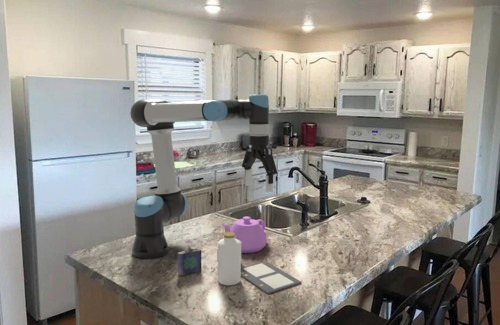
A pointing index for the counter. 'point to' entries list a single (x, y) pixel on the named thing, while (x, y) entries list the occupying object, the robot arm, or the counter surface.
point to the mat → (268, 277)
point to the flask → (189, 261)
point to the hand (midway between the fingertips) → (258, 188)
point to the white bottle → (229, 260)
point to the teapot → (248, 234)
